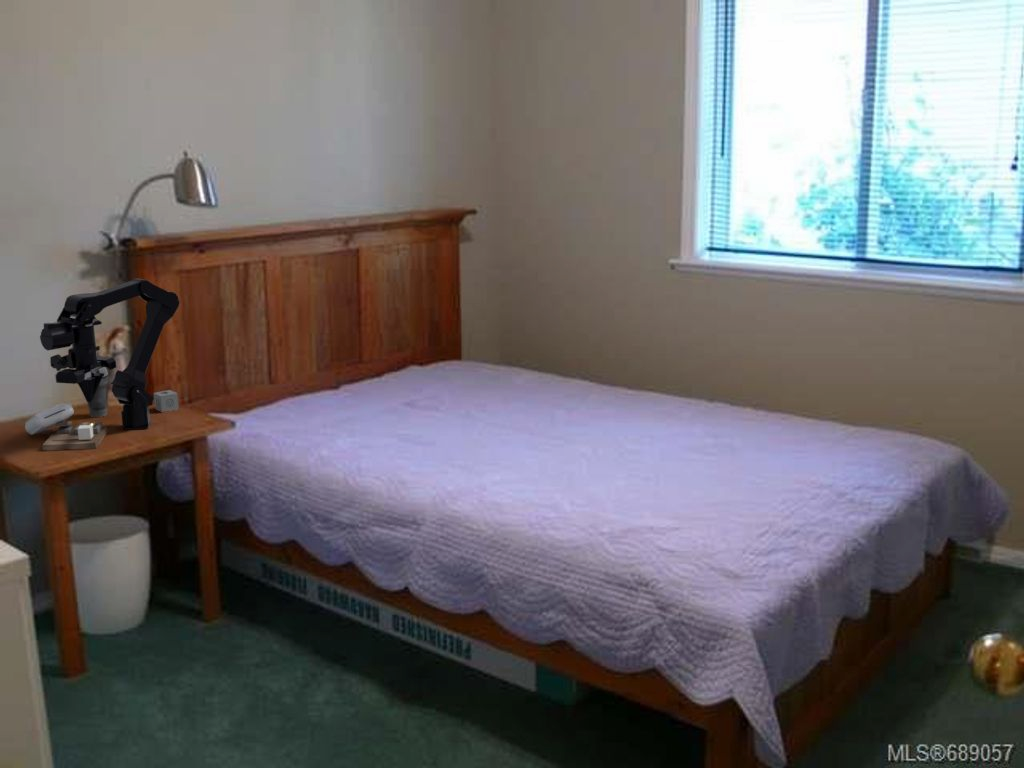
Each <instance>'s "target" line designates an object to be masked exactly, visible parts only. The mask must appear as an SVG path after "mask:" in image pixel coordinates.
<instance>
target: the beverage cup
mask: <svg viewBox="0 0 1024 768" xmlns="http://www.w3.org/2000/svg"><path fill="white" fill-rule="evenodd" d="M96 353H97V354H98V351H96ZM98 371H99V372H100V373H104V376H103V377H102V379H101V381H100V383H99V386H98V388H97V390H96V393H95V396H94V398H93V401H92V402H87V401H86V402H87V407H88V411H89V414H90V415H89V416H90V418H94V417H98V418H103V416H104V417H106V415H107V416H108V382H109V381H108V380H109V372H108V368H107V367H102V368H100V369H98Z"/></svg>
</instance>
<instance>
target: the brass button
mask: <svg viewBox="0 0 1024 768" xmlns="http://www.w3.org/2000/svg"><path fill="white" fill-rule="evenodd" d="M81 423H82V425H92V427H93V428H95V423H94V421H85V422H81Z"/></svg>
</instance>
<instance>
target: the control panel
mask: <svg viewBox="0 0 1024 768" xmlns="http://www.w3.org/2000/svg"><path fill="white" fill-rule="evenodd" d="M93 422H94V421H93ZM82 423H83V422H79V423H78V424H77V425H76V426H74V425H61V426H59V427H58V428H57V429H55V430H54V432H52V433H51V435H50V436H49V437H48V438H47V439H46V441H45V442H43V444H42V446H41V447H42V451H43V450H47V451H65V450H64V449H70V450H90V449H91V450H92V449H93V450H94V449H97V447H98V446H99V445H100V444H101V442H102V441H103V439H104V438H105V437H104V436H106V435H108V427H107V426H106V427H104V425H103V422H101V421H100V422H99V421H98V422H97V421H96V422H94V423H95V428H93V437H92V438H91V439H86V440H79V438H78V428H79V426H80V425H82Z"/></svg>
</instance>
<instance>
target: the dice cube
mask: <svg viewBox="0 0 1024 768" xmlns="http://www.w3.org/2000/svg"><path fill="white" fill-rule="evenodd" d="M153 403H154V410H155V409H158V410H160V411H162V412H163V411H170V412H173V411H172V410H175V411H179V410H178V409H179V408H180V407H179V395H178V392H176V391H173V390H171V389H168V390H162V391H158V392H153Z"/></svg>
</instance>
